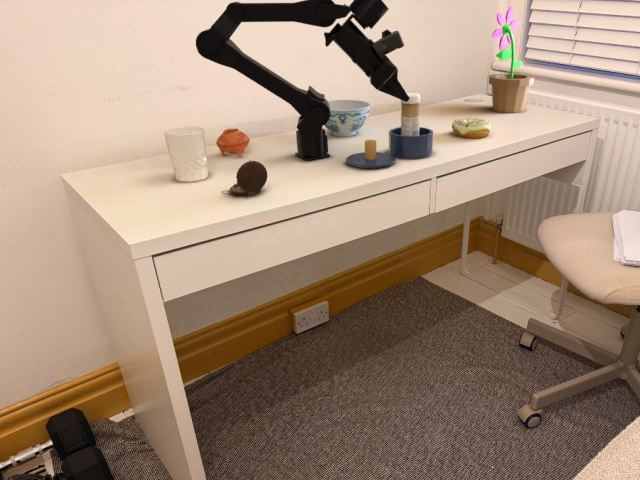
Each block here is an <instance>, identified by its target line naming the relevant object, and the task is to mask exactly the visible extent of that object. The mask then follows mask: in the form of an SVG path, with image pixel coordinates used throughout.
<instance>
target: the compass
mask: <svg viewBox="0 0 640 480" xmlns="http://www.w3.org/2000/svg"><path fill="white" fill-rule="evenodd" d="M235 178H236V183H234V184H233V185H232V186H231V187H230V188H229V189H228V190H227V189H226V190H222V191H221V194H223V195H229V194H231V195H232V196H234V197H252V196H255V195H258V194H259V193H261V191H262V189H263V188H264V186H265V185H266V183H267V181H268V171H267V168H266V167H265V166H264V165H263V164H262V163H261V162H259V161H256V160H251V159H249V160H248V161H245V162H244V163H243V164H241V165H240V167H239V168H238V169H237V172H236V176H235Z"/></svg>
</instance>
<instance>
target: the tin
mask: <svg viewBox="0 0 640 480" xmlns="http://www.w3.org/2000/svg"><path fill="white" fill-rule="evenodd" d="M433 140H434V131H433V130H432V129H431V128H427V127H423V126H419V136H402V135H401V126H399V127H394V128H392V129H390V130H389V131H388V152H389V153H388V154H390V155H393V156H394V157H395V159H396V158H397V159H401V160H419V159H420V160H421V159H425V158H429V157H431V156H432V154H433V144H434V143H433V142H434V141H433Z"/></svg>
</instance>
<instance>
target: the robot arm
mask: <svg viewBox="0 0 640 480" xmlns="http://www.w3.org/2000/svg"><path fill="white" fill-rule="evenodd" d="M389 10H390V9H389V7H388V6H387V4H386V3H384V1H383V0H353V1H351V3H350V4H349V5H346V3H344V4H338V3H335V2H334V1H333V0H300V1H296V2H295V1H294V2H240V1H233V2H230V3H229V4H227V6H226V8H225V10H224V11H223V12H222V13H221V15H220V16H219V17H217V19H216V20H215V22H214V23H213V24H212V25H211V26H210V27H209V28H208V29H205V30H202V31H200V32H199V33H198V34H197V36H196V39H195V47H196V51H197V53H198V54H199V55H200V56H201V57H202V58H203V59H206V60H208V61H210V62H213V63H215V64H218V65H220V66H224V67H227V68H230V69H232V70H235V71H237V72H238V73H240V74H242V75H243V76H245V77H246V78H248V79H249V80H250V81H252V82H254V83H256V85H259V86H261V87H262V88H264V89H266V90H267V91H268V92H270V93H272V94H273V95H275V96H277V97H278V98H280V99H281V100H283V101H284V102H286V103H287V104H289V105H290V106H291V108H293V109H294V110H295V111H296V112H297V113H298V114H299V115H300V116H299V117H298V118H297V122H296V123H297V124H296V128H297V130H295V136H296V149H297V152H294V156H295V157H297V158H300V159H301V160H304V161H308V162H309V161H313V160H314V161H315V160H319V159H326V158H330V157H331V154H330V153H329V141H328V139H329V138H328V137H329V136H328V135H327V134H326V129H325V128H323V126H324V125H325V124H326V123H327V122H328V121H329V119H330V105H329V102H328V101H329V100H328V99H326V98H325V97H326V96H325V94H324V93H320V92H319V91H317V90H316V89H315V88H314V87H312V86H311V85H309V86H308V88H307V90H305V89H303V88H300V87H298V86H296V85H294V84H293V83H292V82H290V81H288V80H287V79H285V78H283V77H282V76H281V75H279V74H277V73H276V72H274V71H273V70H271V69H270V68H268V67H267V66H265V65H263V64H262V63H260V62H259V61H258V60H256V59H254V58H252V57H251V56H250V55H248V54H247V53H244V52H243V51H242V49H241V48H240V47H238V45H237V44H236V43H235V42H234V41H233V40H232V39H231V37H232V35H234V34H235V32H236V31H237V29H238V28H239V27H240V25H241V24H242V23H298V24H303V25H307V26H313V27H320V28H329V27H331V26H332V25H334V24H335V25H334V26H333V27H332V28H331V30H330V31H329V32H326V31H325V32H323V36H324V40H325V42H324V45H325V47H326V48H327V47H329V46H330V45H331V44H332V43H333V42H334V44H336V45H337V46H338V48H340V49H341V51H343V52H344V54H345V55H347V56H348V58H349V59H350V60H351V61H352V62H353V64H355V65H356V66H357V67H358V68H359V69H360V70H361V71H362V72H363V73H364V75H365V76H366V77H367V78H369V83H370V85H372V87H373V88H374V89H375V90H376V91H378V92H381V93H384V94H386V95H389V96H391V97H394V98H396V99H398V100H400V101H401V100H403V101H405V102H407V101H408V100H409V99H410V98H409V96H408V95H407V93H408V92H406V90H405V89H404V87H403V85H402V84H401V82H400V81H399V79H398V76H399V68H398V67H397V66H396V65H395V64H394V63H393V62H392V60H391V59H390V58H389V57H388V56H387V55H388V54H390V53H392V52H394V51H396V50H398V49H402V48H403V47H405V43H404V41H403V38H402V36H401V33H400V31H398V30H394V31H392V32H391V31H390V30H389V29H388V28H386V29H385V30H383V31H382V32H381V38H379V39H378V40H376V41H373V39H371V38H369V37H368V36H367V35H366V34H365V33H364V32H363V31H362V30H361V29H360V28H359V27H358V26H357V25H356V24H355V23H354V22H353V19H354V20H355V22H356V23H357V24H358V25H359V26H360V27H361V28H362V29H363V30H366V29H368V28H369V29H370V30H372V29H373V28H374V27H375V26H376V25H377V24H378V22H379V21H380V20H381V19H382V18H383V17H384V15H386V13H387V12H388V11H389ZM350 13H351V14H350ZM349 14H350V15H349ZM348 15H349V16H348ZM346 17H347V19H346V20H345V21H344V22H343V23H342V24H340V23H339V22H337V23H335V22H336V21H337V20H340V19H345V18H346Z"/></svg>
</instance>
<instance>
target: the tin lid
mask: <svg viewBox="0 0 640 480" xmlns="http://www.w3.org/2000/svg"><path fill="white" fill-rule="evenodd" d="M345 162H346V163H347V164H348V165H349V166H353V167H356V168H364V169H379V168H382V167H388V166H390V165H393V164H394V163H396V157H394V156H393V155H390V154H389V153H386V152H379V151H377V141H376V140H375V139H366V140H365V141H364V152H357V153H352V154H350V155H348V156H347V157H346V158H345Z"/></svg>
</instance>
